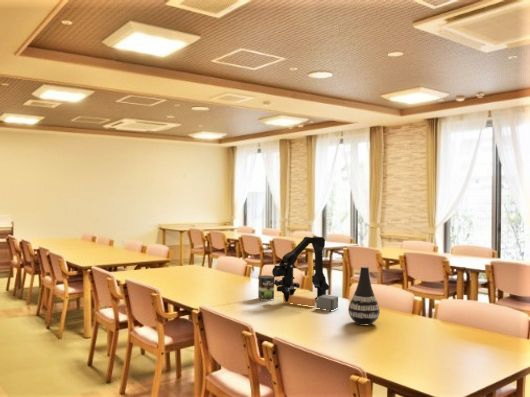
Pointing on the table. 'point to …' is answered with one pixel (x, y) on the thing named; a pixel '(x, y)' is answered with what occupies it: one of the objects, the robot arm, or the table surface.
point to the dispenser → (327, 302)
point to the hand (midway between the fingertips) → (288, 301)
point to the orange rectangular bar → (300, 300)
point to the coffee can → (266, 287)
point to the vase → (364, 301)
